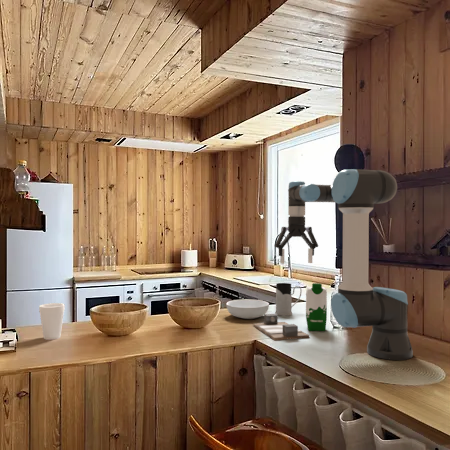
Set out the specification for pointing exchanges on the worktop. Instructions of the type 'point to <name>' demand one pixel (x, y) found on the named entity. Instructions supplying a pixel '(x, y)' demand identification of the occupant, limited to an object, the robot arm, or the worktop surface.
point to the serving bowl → (247, 308)
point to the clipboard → (279, 329)
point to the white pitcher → (284, 299)
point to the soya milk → (316, 307)
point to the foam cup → (51, 319)
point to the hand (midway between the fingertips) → (296, 263)
